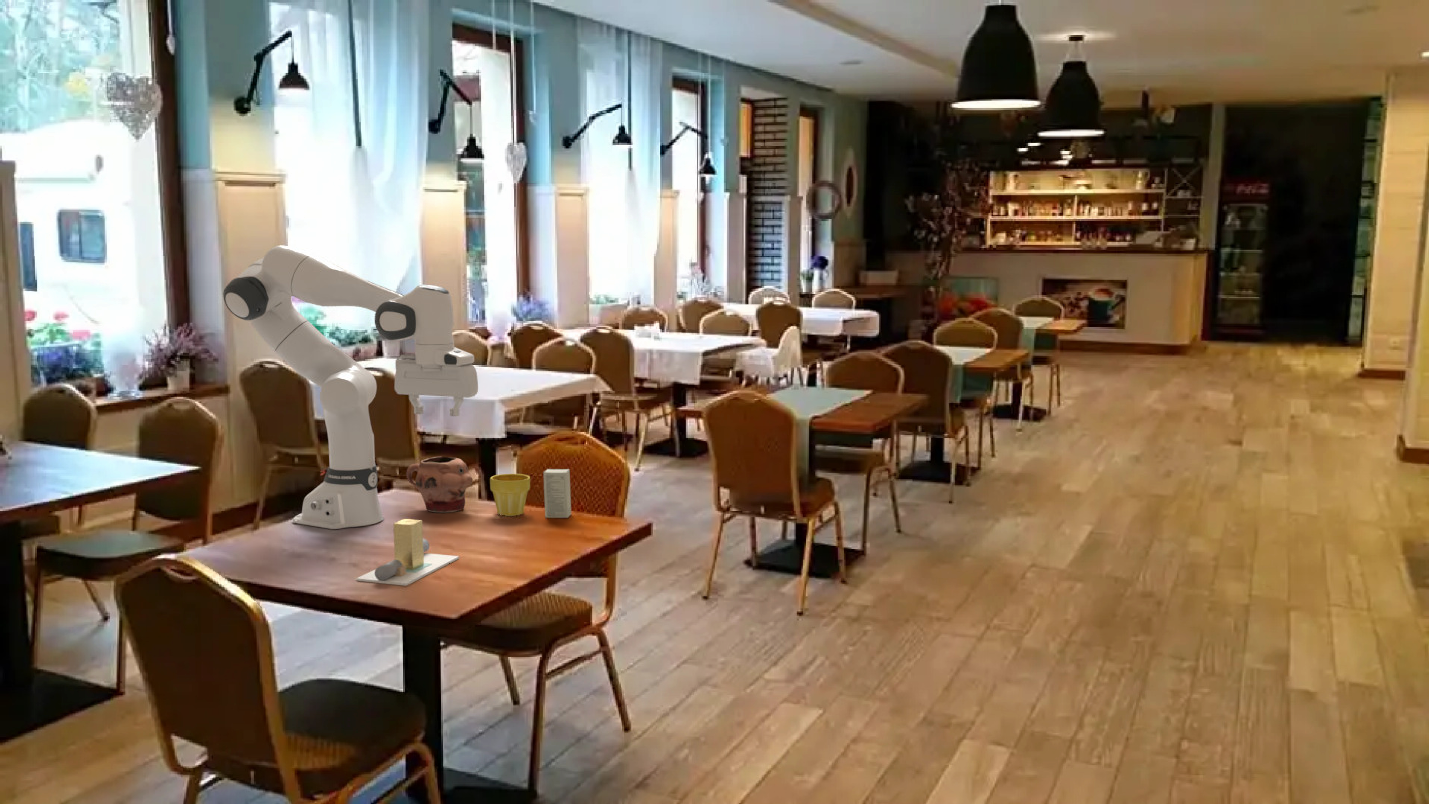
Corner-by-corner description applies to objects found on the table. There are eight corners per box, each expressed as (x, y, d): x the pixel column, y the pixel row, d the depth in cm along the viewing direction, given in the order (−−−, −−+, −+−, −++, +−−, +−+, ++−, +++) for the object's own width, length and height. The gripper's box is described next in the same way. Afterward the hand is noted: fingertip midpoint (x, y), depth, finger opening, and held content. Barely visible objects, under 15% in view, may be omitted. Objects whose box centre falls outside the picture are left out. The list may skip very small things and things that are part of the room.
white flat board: (415, 552, 271) (415, 537, 271) (461, 557, 268) (461, 542, 267) (356, 580, 250) (355, 564, 249) (406, 585, 246) (405, 569, 246)
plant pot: (530, 508, 316) (529, 472, 315) (531, 517, 306) (530, 480, 305) (491, 509, 314) (490, 473, 313) (490, 518, 304) (489, 481, 303)
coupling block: (395, 568, 257) (393, 523, 255) (406, 562, 261) (404, 518, 259) (412, 569, 255) (411, 525, 254) (423, 564, 260) (422, 520, 258)
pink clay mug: (394, 512, 311) (392, 460, 309) (417, 502, 322) (415, 452, 321) (463, 517, 306) (461, 464, 304) (484, 506, 317) (482, 456, 315)
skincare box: (571, 514, 309) (570, 469, 307) (567, 518, 305) (567, 472, 303) (547, 513, 310) (547, 468, 308) (543, 517, 305) (543, 471, 304)
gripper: (388, 355, 272) (390, 414, 274) (467, 358, 266) (468, 419, 268) (402, 352, 278) (404, 410, 280) (480, 355, 272) (482, 415, 274)
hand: (436, 414), depth 274 cm, fingers open, 8 cm apart
